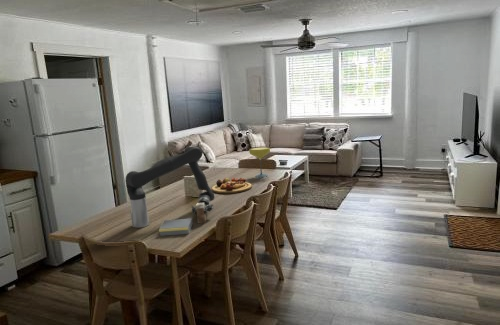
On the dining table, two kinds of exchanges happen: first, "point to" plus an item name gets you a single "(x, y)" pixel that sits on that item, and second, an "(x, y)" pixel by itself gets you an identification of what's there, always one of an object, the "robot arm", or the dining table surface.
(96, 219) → the dining table surface
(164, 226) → the dock
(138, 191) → the robot arm
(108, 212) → the dining table surface
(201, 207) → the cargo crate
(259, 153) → the cocktail glass
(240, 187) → the wooden plate with food
